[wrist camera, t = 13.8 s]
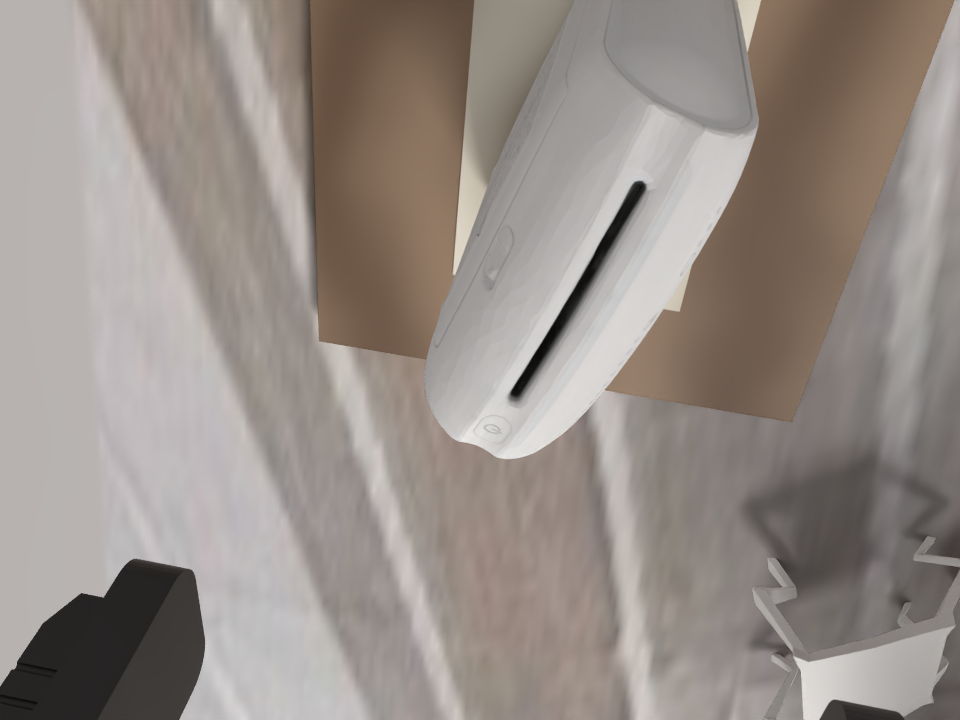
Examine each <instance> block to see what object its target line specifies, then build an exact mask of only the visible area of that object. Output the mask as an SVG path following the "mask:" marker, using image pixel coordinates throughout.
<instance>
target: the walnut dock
mask: <svg viewBox="0 0 960 720" xmlns="http://www.w3.org/2000/svg"><path fill="white" fill-rule="evenodd" d="M574 2H575V0H310V21H311V59H312V96H313V134H314V172H315V210H316V247H317V285H318V323H319V341H322V342H327V343H333V344H339V345H345V346H351V347H357V348H362V349H368V350H374V351H380V352H386V353H391V354H397V355H403V356H409V357H415V358H421V359H426V360H427V355H428V351H429V347H430V344H431V340H432V337H433V334H434V331H435V328H436V325H437V322H438V319H439V315H440V310H441V306H442V304H443V302H444V301H445V300H446V298H447V296H448V293H449V290H450V288H451V285H452V282H453V280H454V277H455V274H456V271H457V269H458V266H459V263H460V260H461V258H462V255H463V252H464V250H465V247H466V244H467V241H468V239H469V236H470V233H471V230H472V228H473V225H474V222H475V219H476V217H477V214H478V211H479V208H480V206H481V203H482V200H483V197H484V195H485V192H486V189H487V186H488V184H489V181H490V178H491V176H492V171H493V168H494V167H495V166H496V164H497V162H498V160H499V157H500V155H501V153H502V150H503V148H504V146H505V143H506V141H507V139H508V137H509V135H510V132H511V130H512V128H513V126H514V124H515V121H516V119H517V117H518V115H519V113H520V111H521V109H522V107H523V104H524V102H525V100H526V98H527V96H528V94H529V92H530V90H531V88H532V86H533V84H534V82H535V80H536V78H537V75H538V73H539V71H540V69H541V67H542V65H543V63H544V61H545V59H546V57H547V55H548V53H549V51H550V49H551V47H552V45H553V43H554V41H555V39H556V37H557V35H558V34H559V32H560V30H561V28H562V26H563V24H564V22H565V20H566V18H567V16H568V14H569V12H570V10H571V8H572V6H573V3H574ZM737 3H738V8H739V11H740V16H741V21H742V27H743V32H744V38H745V43H746V48H747V54H748V60H749V65H750V71H751V77H752V82H753V88H754V93H755V99H756V107H757V112H758V116H759V123H758V128H757V132H756V136H755V139H754V142H753V145H752V148H751V151H750V153H749V156H748V159H747V162H746V164H745V167H744V169H743V172H742V174H741V177H740V179H739V181H738V183H737V185H736V188H735V190H734V192H733V194H732V196H731V198H730V200H729V202H728V203H727V205H726V207H725V209H724V211H723V213H722V215H721V217H720V218H719V220H718V222H717V224H716V225H715V227H714V229H713V230H712V232H711V234H710V236H709V237H708V239H707V241H706V242H705V244H704V246H703V248H702V249H701V251H700V253H699V254H698V256H697V258H696V259H695V261H694V262H693V264H692V266H691V267H690V269H689V271H688V272H687V274H686V275H685V277H684V278H683V280H682V282H681V283H680V285H679V286H678V288H677V289H676V291H675V292H674V294H673V296H672V297H671V299H670V300H669V302H668V303H667V304H666V306H665V307H664V309H663V310H662V312H661V314H660V315H659V317H658V318H657V320H656V321H655V323H654V324H653V325H652V327H651V328H650V330H649V331H648V333H647V334H646V336H645V337H644V338H643V340H642V341H641V343H640V344H639V345H638V347H637V348H636V350H635V351H634V352H633V354H632V355H631V356H630V358H629V359H628V360H627V362H626V363H625V364H624V366H623V367H622V368H621V370H620V371H619V372H618V374H617V375H616V376H615V378H614V379H613V380H612V382H611V383H610V384H609V385H608V386H607V388H606V389H605V390H607V391H613V392H619V393H625V394H630V395H636V396H642V397H648V398H654V399H660V400H665V401H671V402H677V403H683V404H689V405H695V406H700V407H706V408H712V409H718V410H724V411H730V412H735V413H741V414H747V415H753V416H759V417H764V418H770V419H776V420H782V421H788V422H792V420H793V418H794V415H795V413H796V410H797V408H798V405H799V402H800V400H801V397H802V395H803V392H804V389H805V387H806V384H807V382H808V379H809V376H810V374H811V371H812V369H813V366H814V363H815V361H816V358H817V356H818V353H819V350H820V348H821V345H822V343H823V340H824V338H825V335H826V332H827V330H828V327H829V325H830V322H831V319H832V317H833V314H834V312H835V309H836V306H837V304H838V301H839V299H840V296H841V293H842V291H843V288H844V286H845V283H846V280H847V278H848V275H849V273H850V270H851V267H852V265H853V262H854V260H855V257H856V255H857V252H858V249H859V247H860V244H861V242H862V239H863V236H864V234H865V231H866V229H867V226H868V223H869V221H870V218H871V216H872V213H873V210H874V208H875V205H876V203H877V200H878V197H879V195H880V192H881V190H882V187H883V184H884V182H885V179H886V177H887V174H888V172H889V169H890V166H891V164H892V161H893V159H894V156H895V153H896V151H897V148H898V146H899V143H900V140H901V138H902V135H903V133H904V130H905V127H906V125H907V122H908V120H909V117H910V114H911V112H912V109H913V107H914V104H915V102H916V99H917V96H918V94H919V91H920V89H921V86H922V83H923V81H924V78H925V76H926V73H927V70H928V68H929V65H930V63H931V60H932V57H933V55H934V52H935V50H936V47H937V44H938V42H939V39H940V37H941V34H942V31H943V29H944V26H945V24H946V21H947V19H948V16H949V13H950V11H951V8H952V6H953V3H954V0H737Z"/></svg>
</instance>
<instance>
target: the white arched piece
mask: <svg viewBox="0 0 960 720" xmlns="http://www.w3.org/2000/svg"><path fill="white" fill-rule="evenodd" d="M935 539H936V538H935V537H930V536H927V538H926V539H925V540H924V542H923V543H922V544H921V546H920V547H919V549H918V550H917V551H916V553H915V554H914V558H913V561H919V562H927V563H934V564H941V565H948V566H955V567H960V559H959V558H952V557H944V556H936V555H929V554H925V553H926V552H927V551H928V549H929V548H930V547H931V546H932V545H933V544H934V542H935ZM767 559H768V568H769V571H770V572H771V573H772V575H773V576H774V577H775V578H776V580H777V581H778V582H779V584H780V585H781V586H782V587H752V590H753V596H754V602H755V605H756V606H757V607H758V609H759V610H760V611H761V612H762V614H763V615H764V616H765V618H766V619H767V620H768V621H769V623H770V624H771V625H772V627H773V628H774V629H775V630H776V632H777V633H778V634H779V636H780V637H781V638H782V639H783V641H784V642H785V643H786V645H787V646H788V647H789V648H790V650H791V651H792V652H793V657H794V659H795V661H796V663H797V665H798V667H799V668H798V667H797V666H795V665H794V664H792V663H791V662H790V661H788V660H787V659H785V658H784V657H782V656H781V655H777V654H772V657H771V661H772V662H774V663H776V664H777V665H779V666H780V667H782V668H783V669H785V670H786V671H788V672H789V673H790V674H789V675H788V677H787V679H786V681H785V682H784V684H783V686H782V687H781V689H780V691H779V693H778V694H777V696H776V698H775V699H774V701H773V703H772V705H771V706H770V708H769V710H768V712H767V713H766V715H765V717H764V719H763V720H776V719H775V718H776V716H777V714H778V712H779V710H780V708H781V706H782V704H783V702H784V700H785V698H786V696H787V694H788V692H789V690H790V688H791V686H792V684H793V682H794V680H795V677H796V675H797V673H798V669H800V671H801V681H802V701H803V720H819V719H820V718H821V716H822V714H823V712H824V710H825V709H826V707H827V705H828V704H829V702H830V701H831V700H834V699H835V700H841V701H846V702H851V703H856V704H861V705H866V706H872V707H877V708H882V709H887V710H892V711H897V712H899V713H900V714H901V715H902V716H903V717H904V716H906V715H908V714H909V713H911V712H913V711H914V710H916V709H918V708H919V707H921V706H923V705H926V704H930V703H934V701H933V696H932V691H933V687H934V686H935V685H936V684H937V682H938V681H939V680H940V678H941V677H942V675H943V674H944V672H945V671H946V669H947V667H948V664H949V661H948V660H947V659H946V658H945V657H944V656H943V655H942V653H943V649H944V645H945V642H946V638H947V635H948V634H949V633H950V632H951V631H952V630H953V628H954V627H955V626H956V624H955V620H954V615H953V610H954V608H955V606H956V604H957V602H958V599H959V597H960V570H959V572H958V574H957V576H956V577H955V579H954V581H953V583H952V585H951V586H950V588H949V590H948V592H947V594H946V596H945V598H944V600H943V602H942V604H941V606H940V608H939V610H938V612H937V614H936V616H935V617H934V618H931V619H927V620H924V621H921V622H917V623H913V622H912V621H911V620H910V619H909V618H908V617H907V616H906V613H907V611H908V609H909V607H910V605H911V602H907V603H904V606H903V608H902V610H901V613H900V615H899V618H898V621H897V623H898V624H899V626H900V627H901V628H898V629H895V630H892V631H889V632H886V633H883V634H881V635H878V636H875V637H871V638H868V639H864V640H860V641H856V642H852V643H848V644H844V645H840V646H836V647H832V648H828V649H824V650H820V651H816V652H812V653H808V652H807V651H806V649H805V648H804V646H803V645H802V643H801V642H800V640H799V639H798V638H797V636H796V635H795V633H794V632H793V630H792V629H791V627H790V626H789V624H788V623H787V621H786V620H785V618H784V617H783V616H782V614H781V613H780V611H779V610H778V608H777V607H776V605H775V604H778V603H781V602H785V601H788V600H791V599H794V598H797V590H796V587H795V585H794V584H793V582H792V581H791V579H790V578H789V576H788V575H787V573H786V572H785V570H784V569H783V568H782V566H781V565H780V563H779V562H778V560H777V559H776V558H767Z"/></svg>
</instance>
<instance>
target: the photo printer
mask: <svg viewBox="0 0 960 720" xmlns="http://www.w3.org/2000/svg"><path fill="white" fill-rule="evenodd" d="M758 123H759V116H758V112H757V107H756V99H755V93H754V88H753V82H752V77H751V71H750V65H749V60H748V54H747V48H746V43H745V38H744V32H743V27H742V21H741V16H740V11H739V8H738V3H737V0H575V2H574V3H573V6H572V8H571V10H570V12H569V14H568V16H567V18H566V20H565V22H564V24H563V26H562V28H561V30H560V32H559V34H558V35H557V37H556V39H555V41H554V43H553V45H552V47H551V49H550V51H549V53H548V55H547V57H546V59H545V61H544V63H543V65H542V67H541V69H540V71H539V73H538V75H537V78H536V80H535V82H534V84H533V86H532V88H531V90H530V92H529V94H528V96H527V98H526V100H525V102H524V104H523V107H522V109H521V111H520V113H519V115H518V117H517V119H516V121H515V124H514V126H513V128H512V130H511V132H510V135H509V137H508V139H507V141H506V143H505V146H504V148H503V150H502V153H501V155H500V157H499V160H498V162H497V164H496V166H495V167H494V168H493V171H492V176H491V178H490V181H489V184H488V186H487V189H486V192H485V195H484V197H483V200H482V203H481V206H480V208H479V211H478V214H477V217H476V219H475V222H474V225H473V228H472V230H471V233H470V236H469V239H468V241H467V244H466V247H465V250H464V252H463V255H462V258H461V260H460V263H459V266H458V269H457V271H456V274H455V277H454V280H453V282H452V285H451V288H450V290H449V293H448V296H447V298H446V300H445V301H444V302H443V304H442V306H441V310H440V315H439V319H438V322H437V325H436V328H435V331H434V334H433V337H432V340H431V344H430V347H429V351H428V355H427V361H426V368H425V377H424V386H425V394H426V397H427V400H428V403H429V406H430V409H431V410H432V412H433V414H434V416H435V417H436V419H437V421H438V422H439V424H440V425H441V426H442V427H443V429H444V430H445V431H446V432H447V434H448V435H449V436H451V437H452V438H453V439H455V440H457V441H459V442H466V443H471V444H474V445H477V446H479V447H482V448H483V449H485V450H487V451H488V452H490V453H491V454H492V455H494V456H495V457H498V458H503V459H515V458H520V457H525V456H527V455H530V454H532V453H535V452H537V451H538V450H540V449H541V448H543V447H545V446H546V445H548V444H549V443H551V442H552V441H554V440H555V439H556V438H558V437H559V436H560V435H562V434H563V433H564V432H565V431H567V430H568V429H569V428H570V427H571V426H572V425H573V424H575V422H576V421H577V420H578V419H579V418H580V417H581V416H582V415H583V414H584V413H585V412H586V411H587V410H588V409H589V408H590V406H591V405H592V404H593V403H594V402H595V401H596V399H597V398H598V397H599V396H600V395H601V394H602V392H603V391H604V390H605V389H606V388H607V386H608V385H609V384H610V383H611V382H612V380H613V379H614V378H615V376H616V375H617V374H618V372H619V371H620V370H621V368H622V367H623V366H624V364H625V363H626V362H627V360H628V359H629V358H630V356H631V355H632V354H633V352H634V351H635V350H636V348H637V347H638V345H639V344H640V343H641V341H642V340H643V338H644V337H645V336H646V334H647V333H648V331H649V330H650V328H651V327H652V325H653V324H654V323H655V321H656V320H657V318H658V317H659V315H660V314H661V312H662V310H663V309H664V307H665V306H666V304H667V303H668V302H669V300H670V299H671V297H672V296H673V294H674V292H675V291H676V289H677V288H678V286H679V285H680V283H681V282H682V280H683V278H684V277H685V275H686V274H687V272H688V271H689V269H690V267H691V266H692V264H693V262H694V261H695V259H696V258H697V256H698V254H699V253H700V251H701V249H702V248H703V246H704V244H705V242H706V241H707V239H708V237H709V236H710V234H711V232H712V230H713V229H714V227H715V225H716V224H717V222H718V220H719V218H720V217H721V215H722V213H723V211H724V209H725V207H726V205H727V203H728V202H729V200H730V198H731V196H732V194H733V192H734V190H735V188H736V185H737V183H738V181H739V179H740V177H741V174H742V172H743V169H744V167H745V164H746V162H747V159H748V156H749V153H750V151H751V148H752V145H753V142H754V139H755V136H756V132H757V128H758Z"/></svg>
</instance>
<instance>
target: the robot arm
mask: <svg viewBox="0 0 960 720" xmlns="http://www.w3.org/2000/svg"><path fill="white" fill-rule="evenodd" d="M204 651H205V636H204V630H203V623H202V617H201V611H200V604H199V598H198V591H197V585H196V579H195V575H194V572H193V571H192V570H190V569H186V568H181V567H176V566H171V565H166V564H160V563H155V562H150V561H145V560H140V559H133V560H131V561H129V562H128V563H127V564H126V565H125V566H124V567H123V568H122V570H121V571H120V573H119V574H118V576H117V577H116V579H115V581H114V582H113V584H112V585H111V587H110V589H109V590H108V592H107V593H106V595H105V596H104V598H102V597H98V596H93V595H88V594H83V593H81V594H80V595H78V596H77V597H76V598H75V599H73V600H72V601H71V602H69V603H68V604H67V605H66V606H64V607H63V608H62V609H61V610H59V611H58V612H57V613H56V614H54V615H53V616H52V617H51V618H49V619H48V620H47V621H46V622H44V623H43V624H42V626H41V627H40V629H39V630H38V632H37V633H36V635H35V636H34V638H33V639H32V641H31V642H30V643H29V645H28V647H27V648H26V649H25V651H24V652H23V654H22V655H21V657H20V658H19V660H18V661H17V666H16V668H15V669H14V670H11V671H10V673H9V675H8V676H7V677H6V679H5V680H4V682H3V683H2V685H1V686H0V720H179V719H180V717H181V715H182V713H183V711H184V709H185V706H186V704H187V702H188V700H189V698H190V696H191V694H192V692H193V690H194V687H195V685H196V683H197V680H198V677H199V674H200V671H201V667H202V663H203V658H204ZM819 720H904V718H903V716H902V715H901V714H900V713H899V712H897V711H892V710H887V709H882V708H877V707H872V706H866V705H861V704H856V703H851V702H846V701H841V700H835V699H834V700H831V701H830V702H829V704H828V705H827V707H826V709H825V710H824V712H823V714H822V716H821V718H820V719H819Z"/></svg>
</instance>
